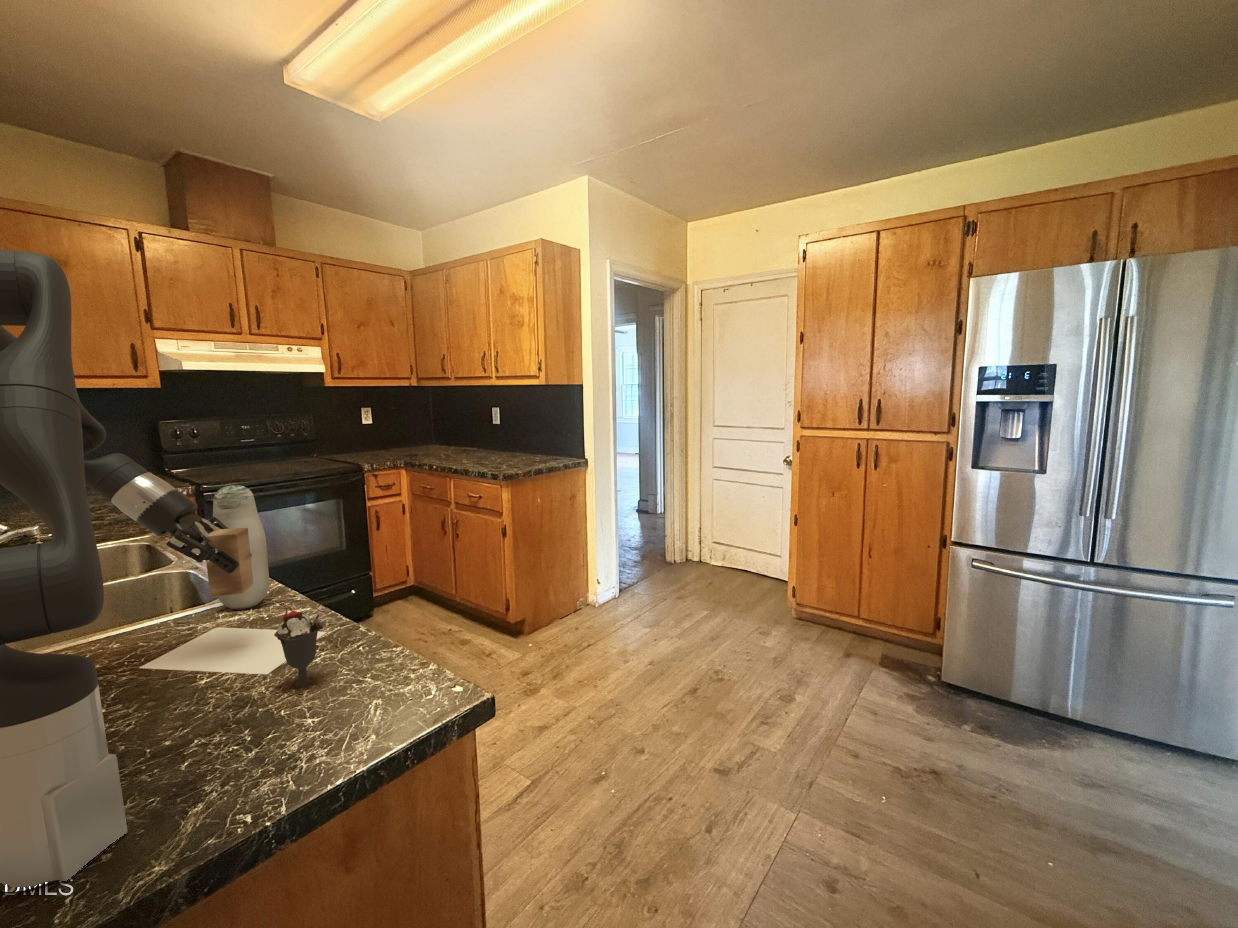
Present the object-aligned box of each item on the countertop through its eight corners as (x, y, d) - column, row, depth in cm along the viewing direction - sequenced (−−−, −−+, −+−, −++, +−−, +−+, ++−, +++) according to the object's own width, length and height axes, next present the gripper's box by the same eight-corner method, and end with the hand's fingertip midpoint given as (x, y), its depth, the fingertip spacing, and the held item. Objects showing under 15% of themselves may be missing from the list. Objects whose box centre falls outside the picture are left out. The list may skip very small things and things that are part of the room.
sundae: (270, 692, 85) (261, 604, 83) (311, 672, 91) (303, 590, 89) (295, 703, 82) (286, 611, 80) (335, 682, 88) (328, 596, 86)
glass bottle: (215, 606, 120) (201, 485, 116) (268, 594, 127) (256, 480, 123) (219, 620, 113) (205, 491, 109) (276, 606, 119) (264, 485, 116)
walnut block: (210, 596, 94) (203, 536, 92) (222, 586, 98) (216, 529, 97) (242, 593, 95) (236, 534, 94) (253, 584, 100) (247, 527, 98)
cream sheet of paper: (327, 635, 105) (327, 631, 105) (267, 678, 89) (266, 674, 89) (216, 630, 107) (216, 627, 107) (139, 672, 92) (138, 667, 92)
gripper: (147, 495, 85) (240, 560, 90) (192, 482, 99) (271, 539, 104) (112, 530, 85) (208, 593, 89) (162, 511, 98) (242, 567, 103)
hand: (241, 564), depth 97 cm, fingers closed on walnut block, 5 cm apart
